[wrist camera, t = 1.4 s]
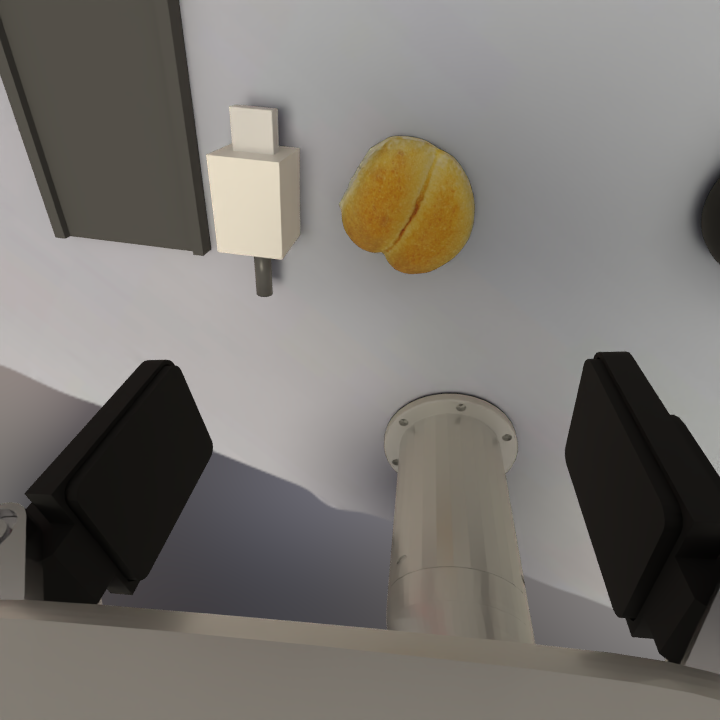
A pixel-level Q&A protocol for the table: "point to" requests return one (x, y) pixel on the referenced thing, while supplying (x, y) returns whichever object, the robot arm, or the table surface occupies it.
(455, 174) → the bread roll
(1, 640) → the robot arm
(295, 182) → the plug
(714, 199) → the cola bottle
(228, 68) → the table surface
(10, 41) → the dark grey flat tray
